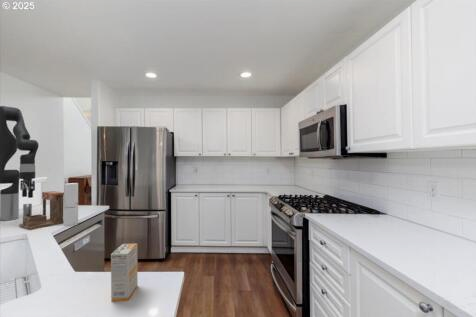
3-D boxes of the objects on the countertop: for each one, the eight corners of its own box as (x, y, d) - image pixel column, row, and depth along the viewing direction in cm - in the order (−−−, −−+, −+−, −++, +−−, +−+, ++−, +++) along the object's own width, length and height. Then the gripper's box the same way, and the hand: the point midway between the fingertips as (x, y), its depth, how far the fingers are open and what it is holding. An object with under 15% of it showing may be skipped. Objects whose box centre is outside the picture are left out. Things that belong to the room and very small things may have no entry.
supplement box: (121, 286, 74) (121, 243, 74) (138, 285, 74) (138, 242, 75) (109, 301, 66) (109, 253, 66) (128, 301, 66) (128, 253, 66)
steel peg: (22, 223, 150) (22, 204, 150) (30, 222, 154) (30, 203, 154) (24, 224, 148) (24, 205, 148) (32, 223, 152) (32, 204, 152)
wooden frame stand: (18, 226, 143) (18, 194, 143) (53, 220, 158) (53, 191, 159) (29, 230, 136) (30, 196, 136) (64, 223, 151) (64, 192, 151)
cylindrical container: (80, 223, 151) (80, 183, 152) (71, 226, 144) (72, 184, 144) (70, 222, 152) (70, 183, 152) (60, 225, 145) (61, 184, 145)
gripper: (15, 171, 152) (15, 197, 151) (24, 171, 145) (24, 198, 144) (30, 171, 158) (30, 195, 158) (39, 171, 151) (39, 197, 151)
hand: (27, 197), depth 151 cm, fingers open, 8 cm apart
